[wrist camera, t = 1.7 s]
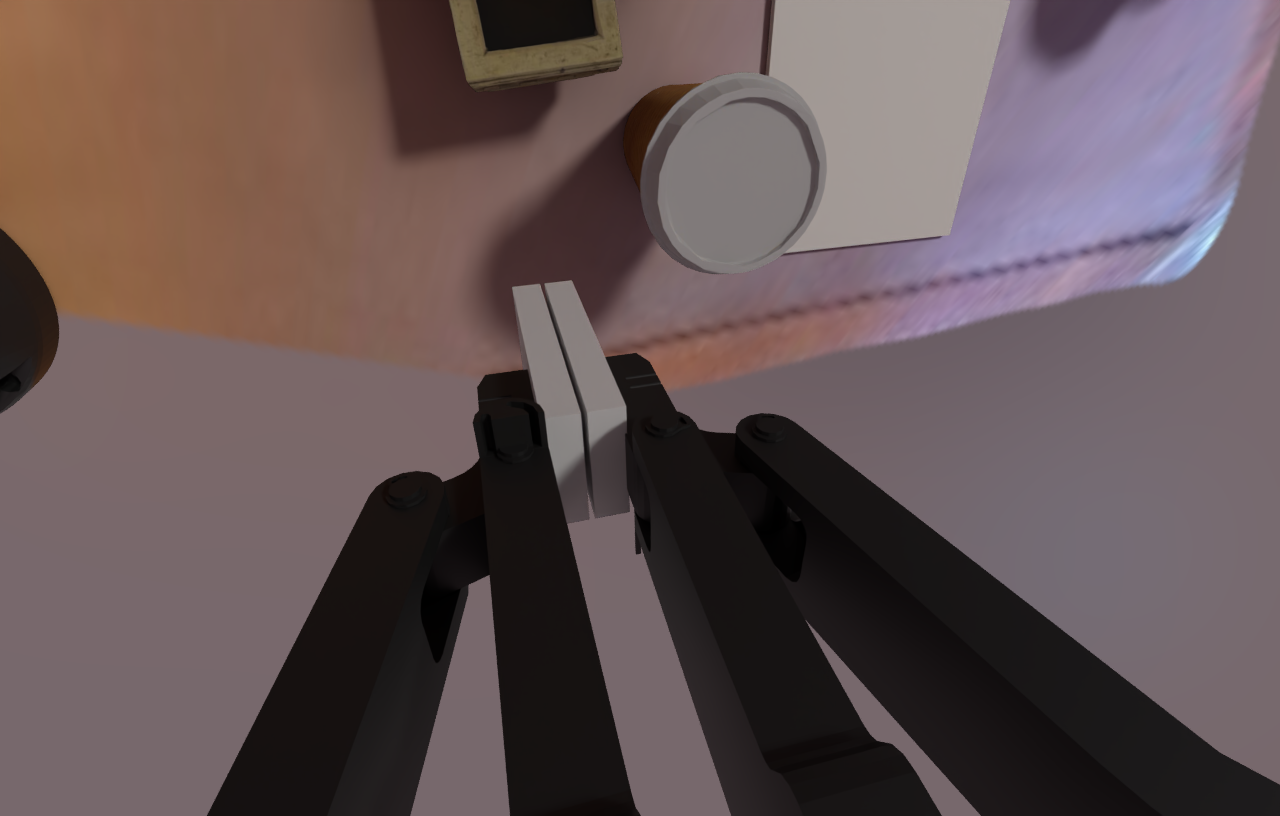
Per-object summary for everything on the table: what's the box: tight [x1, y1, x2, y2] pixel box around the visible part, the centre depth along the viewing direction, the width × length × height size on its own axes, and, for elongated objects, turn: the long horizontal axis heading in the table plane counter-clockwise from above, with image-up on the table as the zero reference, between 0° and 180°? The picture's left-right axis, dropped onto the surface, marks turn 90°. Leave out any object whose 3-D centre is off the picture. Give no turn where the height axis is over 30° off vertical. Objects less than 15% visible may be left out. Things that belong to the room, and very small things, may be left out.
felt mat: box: [766, 0, 1010, 253], centre depth 42 cm, size 16×16×1 cm
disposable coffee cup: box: [623, 72, 827, 274], centre depth 35 cm, size 10×10×12 cm
